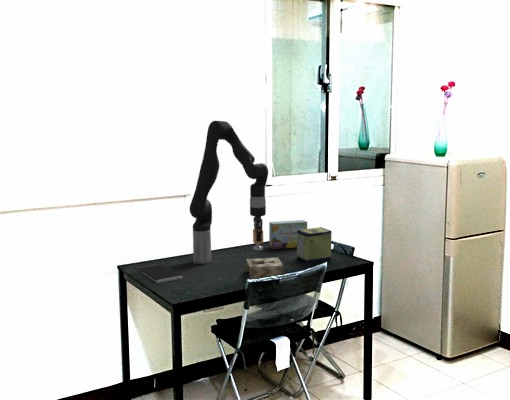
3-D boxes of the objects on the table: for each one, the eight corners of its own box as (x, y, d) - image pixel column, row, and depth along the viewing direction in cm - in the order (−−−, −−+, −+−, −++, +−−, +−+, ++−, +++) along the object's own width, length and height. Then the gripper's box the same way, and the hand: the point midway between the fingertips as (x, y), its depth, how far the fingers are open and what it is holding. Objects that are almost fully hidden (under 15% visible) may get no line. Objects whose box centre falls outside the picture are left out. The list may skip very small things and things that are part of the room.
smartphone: (161, 266, 303) (161, 263, 303) (183, 279, 280) (183, 276, 280) (136, 270, 296) (136, 267, 296) (157, 284, 273) (157, 280, 273)
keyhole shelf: (250, 279, 277) (249, 267, 276) (246, 270, 291) (246, 259, 290) (283, 277, 280) (283, 265, 278) (278, 269, 293) (278, 257, 292)
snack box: (271, 249, 330) (271, 223, 328) (269, 247, 336) (268, 221, 333) (307, 246, 336) (307, 221, 333) (303, 244, 341) (304, 219, 339)
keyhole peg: (254, 250, 280) (254, 231, 279) (253, 248, 285) (252, 229, 283) (263, 250, 281) (263, 231, 279) (262, 247, 285) (261, 229, 284)
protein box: (331, 259, 310) (332, 230, 308) (306, 263, 304) (306, 233, 301) (320, 254, 320) (321, 226, 317) (296, 258, 313) (296, 229, 310)
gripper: (248, 203, 285) (248, 237, 288) (251, 208, 272) (252, 244, 275) (263, 202, 286) (263, 236, 289) (267, 207, 272) (268, 243, 276)
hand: (258, 240), depth 282 cm, fingers closed on keyhole peg, 4 cm apart
